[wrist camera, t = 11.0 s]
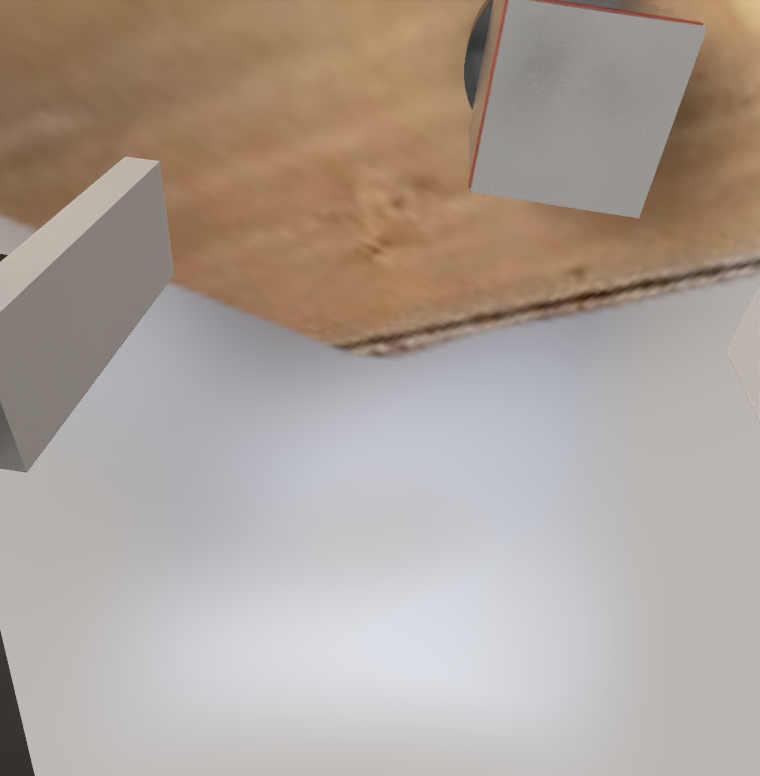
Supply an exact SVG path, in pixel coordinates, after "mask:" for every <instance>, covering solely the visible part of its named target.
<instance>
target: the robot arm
mask: <svg viewBox="0 0 760 776" xmlns="http://www.w3.org/2000/svg"><path fill="white" fill-rule="evenodd" d="M174 274H175V273H174V265H173V258H172V250H171V242H170V235H169V227H168V219H167V212H166V204H165V196H164V189H163V181H162V173H161V166H160V161H155V160H147V159H140V158H132V157H124V158H123V159H122V160H121V161H120V162H118V163H117V164H116V165H115V166H114V167H112V168H111V169H110V170H109V171H108V172H106V173H105V174H104V175H103V176H102V177H101V178H99V179H98V180H97V181H96V182H95V183H93V184H92V185H91V186H90V187H89V188H87V189H86V190H85V191H84V192H83V193H82V194H80V195H79V196H78V197H77V198H76V199H74V200H73V201H72V202H71V203H70V204H68V205H67V206H66V207H65V208H64V209H63V210H61V211H60V212H59V213H58V214H57V215H55V216H54V217H53V218H52V219H51V220H49V221H48V222H47V223H46V224H45V225H44V226H42V227H41V228H40V229H39V230H38V231H36V232H35V233H34V234H33V235H32V236H30V237H29V238H28V239H27V240H26V241H25V242H23V243H22V244H21V245H20V246H19V247H17V248H16V249H15V250H14V251H13V252H11V253H10V254H9V255H3V254H0V468H1V469H9V470H15V471H21V472H28V470H29V469H30V468H31V466H32V465H33V463H34V462H35V461H36V460H37V458H38V457H39V455H40V454H41V453H42V451H43V450H44V449H45V447H46V446H47V445H48V443H49V442H50V441H51V439H52V438H53V437H54V435H55V434H56V432H57V431H58V430H59V429H60V427H61V426H62V425H63V423H64V422H65V420H66V419H67V418H68V416H69V415H70V414H71V412H72V411H73V410H74V408H75V407H76V406H77V404H78V403H79V402H80V400H81V399H82V398H83V396H84V395H85V393H86V392H87V391H88V389H89V388H90V387H91V386H92V384H93V383H94V381H95V380H96V379H97V377H98V376H99V375H100V373H101V372H102V371H103V369H104V368H105V366H106V365H107V364H108V363H109V361H110V360H111V359H112V357H113V356H114V354H115V353H116V352H117V350H118V349H119V348H120V347H121V345H122V344H123V342H124V341H125V340H126V338H127V337H128V336H129V334H130V333H131V332H132V330H133V329H134V328H135V326H136V325H137V323H138V322H139V321H140V319H141V318H142V317H143V316H144V314H145V313H146V311H147V310H148V309H149V307H150V306H151V305H152V303H153V302H154V301H155V299H156V298H157V297H158V295H159V294H160V293H161V291H162V290H163V289H164V287H165V286H166V285H167V283H168V282H169V281H170V279H171V278H172V277H173V275H174ZM726 352H727V354H728V357H729V359H730V361H731V363H732V365H733V367H734V369H735V371H736V374H737V376H738V378H739V380H740V382H741V384H742V386H743V389H744V391H745V393H746V395H747V397H748V399H749V401H750V403H751V406H752V408H753V410H754V411H755V414H756V416H757V418H758V420H759V423H760V285H759V287H758V289H757V291H756V293H755V295H754V296H753V298H752V301H751V302H750V304H749V306H748V308H747V310H746V312H745V314H744V316H743V318H742V320H741V322H740V324H739V326H738V328H737V330H736V332H735V333H734V335H733V337H732V339H731V341H730V343H729V345H728V347H727V349H726ZM0 776H35V775H34V771H33V767H32V763H31V758H30V754H29V750H28V746H27V741H26V737H25V733H24V729H23V725H22V720H21V716H20V712H19V708H18V704H17V700H16V695H15V691H14V687H13V682H12V678H11V674H10V670H9V665H8V661H7V657H6V653H5V649H4V644H3V640H2V636H1V632H0Z"/></svg>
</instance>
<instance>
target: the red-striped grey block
mask: <svg viewBox="0 0 760 776" xmlns="http://www.w3.org/2000/svg"><path fill="white" fill-rule="evenodd" d="M707 28H708V27H706V26H703V23H702V22H699V21H693V20H688V19H686V18H684V17H681V16H679V15H676V14H674V13H671V12H669V11H666V10H664V9H661V8H659V7H657V6H654V5H652V4H649V3H647V2H644V1H642V0H493V5H492V10H491V16H490V21H489V26H488V31H487V37H486V42H485V47H484V52H483V58H482V63H481V68H480V73H479V79H478V84H477V89H476V94H475V100H474V105H473V110H472V115H471V121H470V126H469V143H470V179H469V188H470V192H472V193H478V194H485V195H491V196H498V197H504V198H510V199H517V200H523V201H530V202H536V203H543V204H549V205H556V206H562V207H569V208H575V209H581V210H588V211H594V212H601V213H607V214H614V215H620V216H627V217H633V218H639V217H640V214H641V212H642V209H643V206H644V203H645V200H646V198H647V195H648V192H649V189H650V187H651V184H652V181H653V178H654V175H655V173H656V170H657V167H658V164H659V162H660V159H661V156H662V153H663V150H664V148H665V145H666V142H667V139H668V137H669V134H670V131H671V128H672V125H673V123H674V120H675V117H676V114H677V112H678V109H679V106H680V103H681V100H682V98H683V95H684V92H685V89H686V87H687V84H688V81H689V78H690V75H691V73H692V70H693V67H694V64H695V61H696V59H697V56H698V53H699V50H700V48H701V45H702V42H703V39H704V36H705V34H706V31H707Z"/></svg>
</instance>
